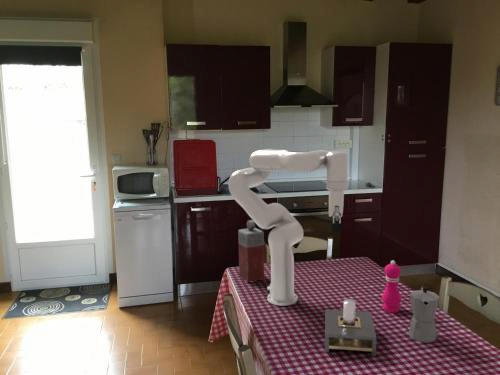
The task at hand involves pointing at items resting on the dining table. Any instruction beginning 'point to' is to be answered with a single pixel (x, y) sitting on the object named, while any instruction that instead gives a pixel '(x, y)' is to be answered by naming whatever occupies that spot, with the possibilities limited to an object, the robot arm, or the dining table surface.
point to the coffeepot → (423, 315)
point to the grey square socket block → (349, 332)
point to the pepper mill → (392, 288)
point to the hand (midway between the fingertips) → (336, 230)
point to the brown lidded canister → (251, 253)
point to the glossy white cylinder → (349, 312)
